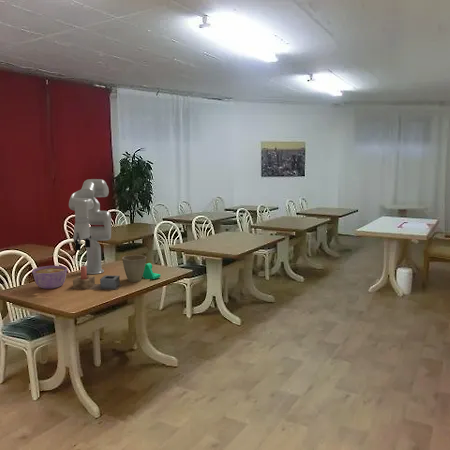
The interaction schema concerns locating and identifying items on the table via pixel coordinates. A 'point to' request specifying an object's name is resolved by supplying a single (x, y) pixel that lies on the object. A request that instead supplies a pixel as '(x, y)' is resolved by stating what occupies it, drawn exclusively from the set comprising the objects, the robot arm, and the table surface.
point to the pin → (83, 272)
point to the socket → (109, 282)
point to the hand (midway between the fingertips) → (82, 248)
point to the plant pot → (134, 267)
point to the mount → (84, 282)
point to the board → (97, 287)
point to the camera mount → (150, 272)
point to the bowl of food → (50, 276)
